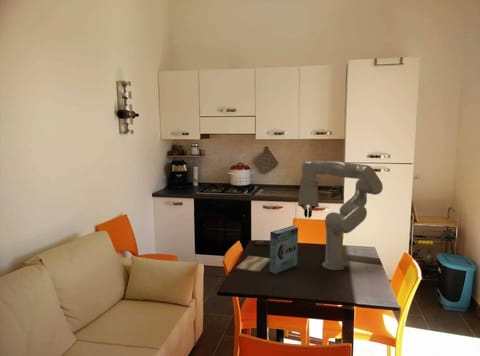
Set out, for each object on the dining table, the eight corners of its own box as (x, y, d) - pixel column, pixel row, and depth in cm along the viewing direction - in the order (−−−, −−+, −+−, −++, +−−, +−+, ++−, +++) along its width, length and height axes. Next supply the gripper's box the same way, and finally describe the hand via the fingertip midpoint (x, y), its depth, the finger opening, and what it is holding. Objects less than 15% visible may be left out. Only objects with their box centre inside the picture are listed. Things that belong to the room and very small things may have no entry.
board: (270, 259, 225) (270, 258, 225) (259, 272, 205) (259, 271, 205) (249, 256, 230) (249, 255, 230) (235, 268, 210) (235, 267, 210)
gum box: (290, 263, 220) (291, 225, 217) (297, 265, 216) (298, 227, 213) (269, 271, 206) (269, 231, 203) (276, 274, 203) (276, 233, 200)
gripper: (324, 184, 201) (323, 217, 203) (296, 182, 206) (295, 214, 209) (322, 185, 194) (320, 220, 196) (293, 184, 200) (292, 217, 202)
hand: (307, 217), depth 202 cm, fingers closed
